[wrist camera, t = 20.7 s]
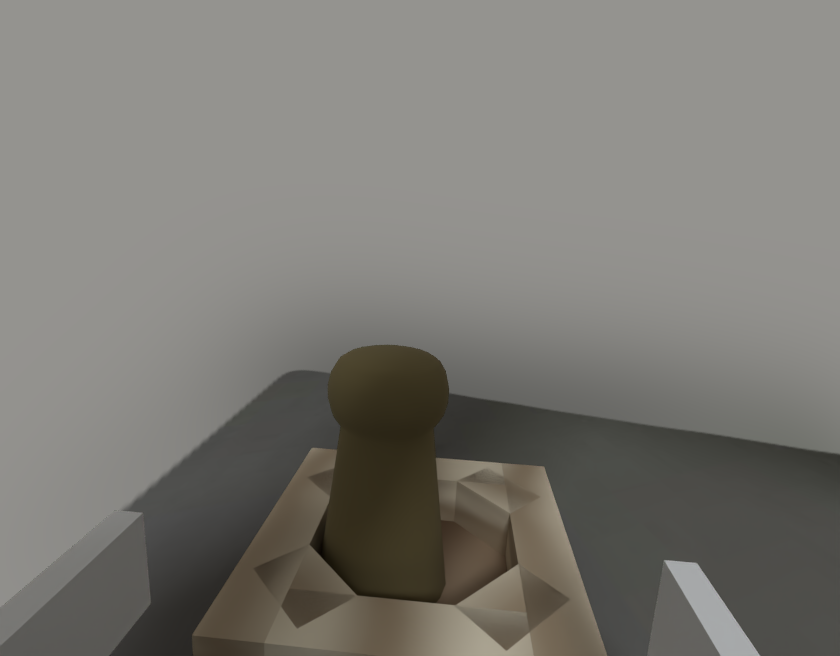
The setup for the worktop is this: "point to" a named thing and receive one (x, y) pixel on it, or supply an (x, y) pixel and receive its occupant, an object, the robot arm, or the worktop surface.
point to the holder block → (400, 619)
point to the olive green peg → (387, 473)
